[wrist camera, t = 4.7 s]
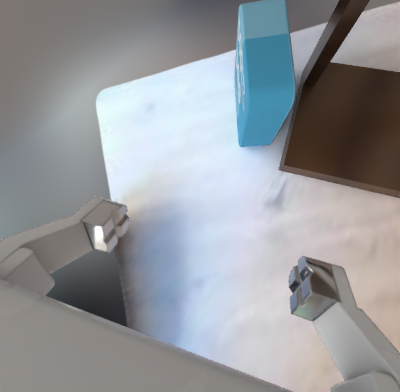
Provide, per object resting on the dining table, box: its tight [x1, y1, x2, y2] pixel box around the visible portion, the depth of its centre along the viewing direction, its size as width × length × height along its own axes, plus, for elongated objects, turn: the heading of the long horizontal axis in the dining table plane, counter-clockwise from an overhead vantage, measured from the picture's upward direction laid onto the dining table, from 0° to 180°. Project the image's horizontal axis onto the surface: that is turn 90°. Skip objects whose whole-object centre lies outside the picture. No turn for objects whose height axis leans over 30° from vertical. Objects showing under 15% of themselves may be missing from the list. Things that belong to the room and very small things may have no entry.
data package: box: [235, 0, 296, 147], centre depth 25 cm, size 12×4×12 cm, turn 2°
